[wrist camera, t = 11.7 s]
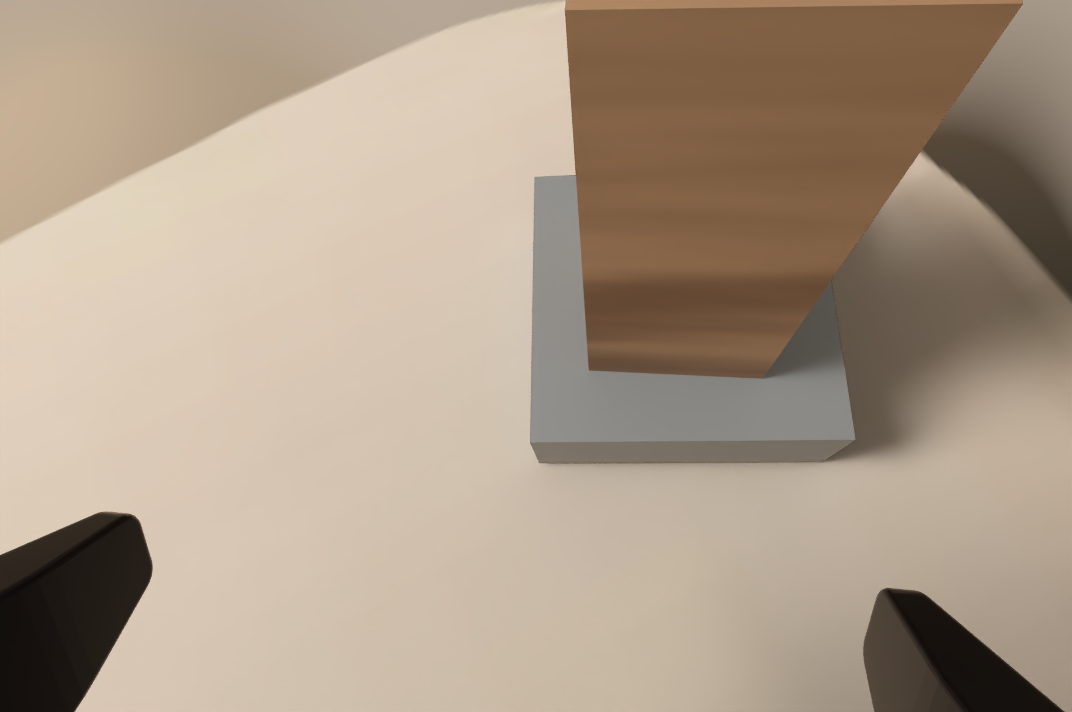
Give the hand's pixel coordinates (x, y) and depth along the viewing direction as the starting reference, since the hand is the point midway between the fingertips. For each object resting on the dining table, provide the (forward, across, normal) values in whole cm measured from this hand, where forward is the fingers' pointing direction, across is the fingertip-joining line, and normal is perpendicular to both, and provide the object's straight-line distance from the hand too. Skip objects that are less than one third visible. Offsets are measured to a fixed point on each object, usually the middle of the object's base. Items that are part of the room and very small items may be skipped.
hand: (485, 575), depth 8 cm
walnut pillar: (+14, -3, +1) cm, 14 cm away
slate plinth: (+16, -3, +3) cm, 17 cm away
